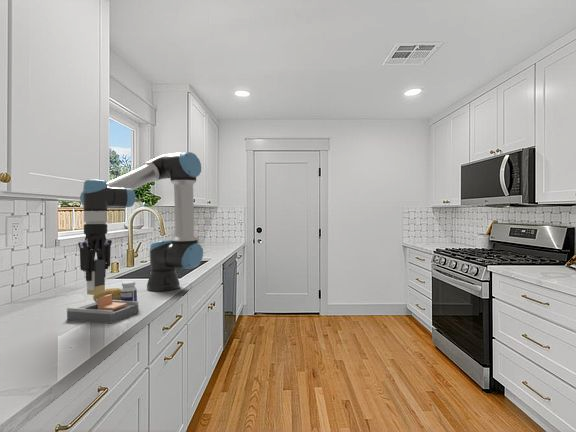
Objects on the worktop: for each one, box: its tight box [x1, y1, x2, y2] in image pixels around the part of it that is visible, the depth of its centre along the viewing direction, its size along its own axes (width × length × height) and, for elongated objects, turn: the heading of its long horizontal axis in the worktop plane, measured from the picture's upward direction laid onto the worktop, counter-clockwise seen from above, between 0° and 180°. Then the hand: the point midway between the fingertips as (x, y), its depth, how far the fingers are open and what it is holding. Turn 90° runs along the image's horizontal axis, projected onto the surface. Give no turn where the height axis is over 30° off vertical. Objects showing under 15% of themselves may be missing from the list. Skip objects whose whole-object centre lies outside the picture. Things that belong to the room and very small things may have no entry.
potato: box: [92, 287, 122, 303], centre depth 151 cm, size 7×11×6 cm, turn 118°
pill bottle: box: [120, 280, 138, 302], centre depth 145 cm, size 6×6×10 cm
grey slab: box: [66, 299, 139, 324], centre depth 133 cm, size 14×18×4 cm
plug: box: [86, 258, 106, 296], centre depth 134 cm, size 4×4×12 cm
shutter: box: [97, 294, 127, 310], centre depth 132 cm, size 7×7×4 cm
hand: (96, 288), depth 134 cm, fingers closed on plug, 4 cm apart
